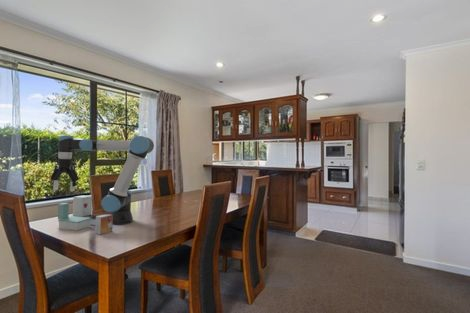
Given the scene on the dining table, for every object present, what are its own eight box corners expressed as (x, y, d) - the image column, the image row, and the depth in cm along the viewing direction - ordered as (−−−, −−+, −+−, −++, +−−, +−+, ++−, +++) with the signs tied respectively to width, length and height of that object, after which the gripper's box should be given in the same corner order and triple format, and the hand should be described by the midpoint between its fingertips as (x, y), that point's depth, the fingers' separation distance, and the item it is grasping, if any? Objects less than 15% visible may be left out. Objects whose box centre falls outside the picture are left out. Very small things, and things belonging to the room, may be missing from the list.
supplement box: (82, 217, 185) (82, 197, 185) (72, 216, 187) (73, 196, 187) (91, 214, 194) (92, 195, 194) (82, 213, 196) (82, 195, 196)
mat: (107, 221, 176) (107, 220, 176) (94, 225, 164) (94, 224, 164) (88, 219, 179) (89, 218, 179) (75, 223, 168) (75, 222, 168)
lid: (90, 219, 162) (91, 204, 162) (77, 224, 151) (77, 207, 151) (67, 217, 166) (68, 202, 166) (53, 221, 155) (53, 204, 155)
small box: (99, 234, 146) (100, 217, 146) (94, 233, 149) (95, 215, 149) (112, 231, 153) (113, 214, 153) (107, 229, 156) (108, 213, 156)
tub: (89, 226, 161) (90, 219, 161) (77, 230, 152) (77, 222, 152) (72, 224, 164) (72, 217, 165) (58, 228, 155) (59, 221, 155)
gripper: (85, 159, 161) (84, 191, 161) (55, 158, 167) (54, 188, 167) (75, 159, 154) (74, 192, 154) (44, 158, 160) (43, 190, 160)
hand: (64, 190), depth 160 cm, fingers open, 13 cm apart
